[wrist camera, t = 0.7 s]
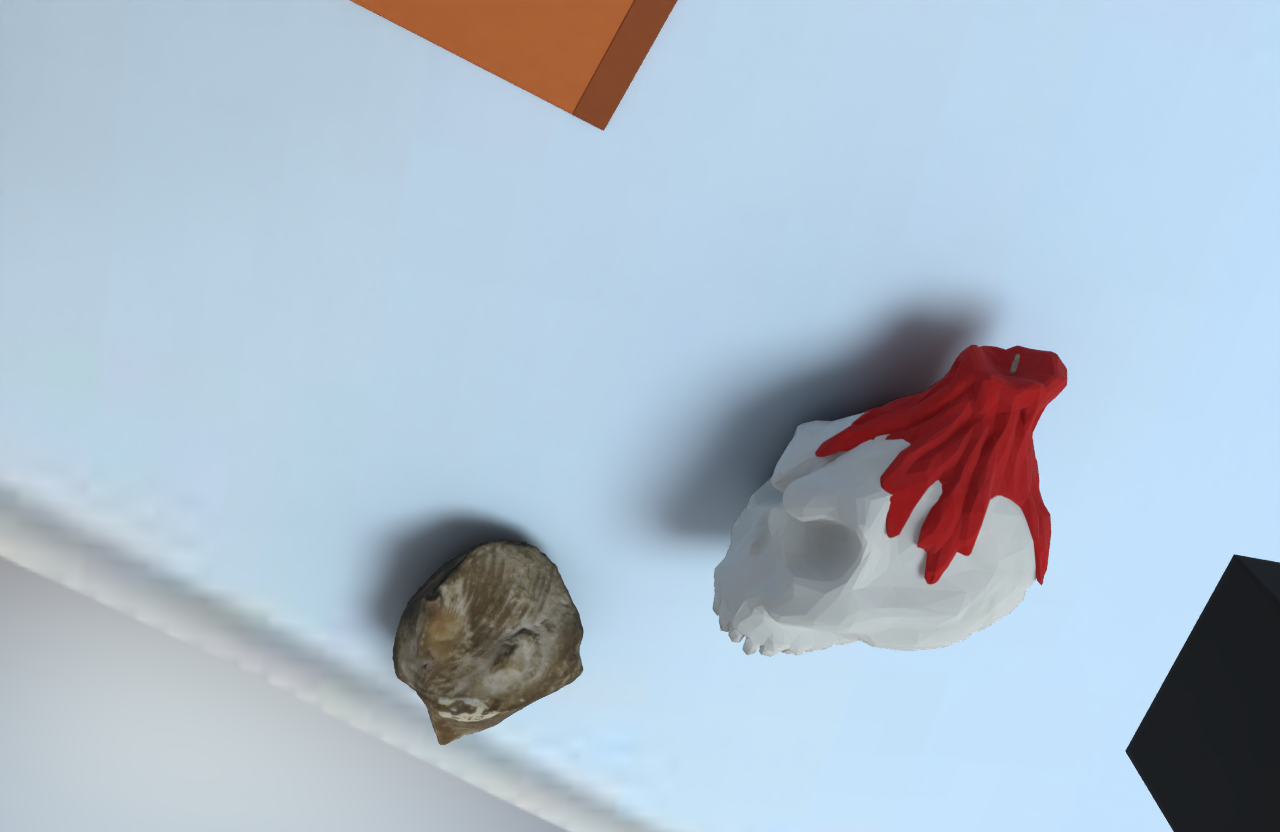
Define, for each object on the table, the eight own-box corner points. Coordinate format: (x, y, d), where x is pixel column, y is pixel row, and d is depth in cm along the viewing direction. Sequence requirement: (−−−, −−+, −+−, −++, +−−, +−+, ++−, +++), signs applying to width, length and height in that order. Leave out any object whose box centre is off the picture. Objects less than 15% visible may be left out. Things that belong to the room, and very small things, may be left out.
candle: (680, 551, 48) (851, 242, 43) (893, 616, 52) (1075, 339, 46) (730, 695, 40) (948, 338, 35) (977, 758, 44) (1208, 445, 39)
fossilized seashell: (395, 542, 43) (356, 682, 50) (478, 678, 40) (425, 809, 47) (553, 493, 48) (499, 627, 54) (640, 612, 45) (571, 740, 51)
